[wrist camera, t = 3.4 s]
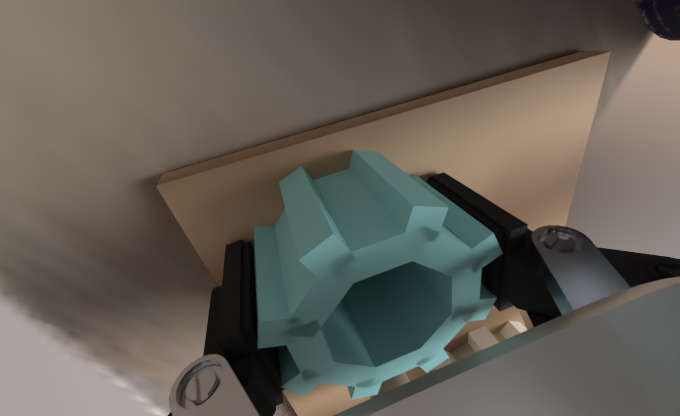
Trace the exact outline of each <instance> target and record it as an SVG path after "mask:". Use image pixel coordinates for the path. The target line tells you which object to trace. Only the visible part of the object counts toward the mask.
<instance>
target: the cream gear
mask: <svg viewBox="0 0 680 416" xmlns="http://www.w3.org/2000/svg"><path fill="white" fill-rule="evenodd" d="M525 331H527V329H526V328H525V327H524V326H523V325H522V324H521V323H520V322H515V321H508V322H507V324H506V325H505V326H504V327H503V329H502V330H501V331H500V332H495V333H491V332H490V331H489V330H488V329H487V328H486V327H485V326H483V327H481V328H478V329H476V330H474V331H471V332H469V333H468V342H467V343H465V344H464V345H462V346H460V347H459V348H457V349H456V350H454V351H453V352H452V353H450V352H447V351H445V352H446V353H447V355H448V356H449V358H448V359H446V360H445V361H443V362H442V363H441V364H439V365H438V366H436V367H435V368H433V371H435V370H437V369H440V368H442V367H444V366H446V365H449V364H451V363H453V362H456V361H458V360H460V359H462V358H465V357H467V356H469V355H472V354H474V353H476V352H478V351H481V350H483V349H485V348H488V347H490V346H492V345H494V344H497V343H499V342H501V341H504V340H506V339H508V338H511V337H513V336H515V335H518V334H520V333H522V332H525ZM433 371H432V372H433Z"/></svg>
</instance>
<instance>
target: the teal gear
mask: <svg viewBox="0 0 680 416" xmlns="http://www.w3.org/2000/svg"><path fill="white" fill-rule="evenodd" d="M279 185H280V189H281V193H282V197H283V201H284V205H285V210H284V211H283V213H282V215H281V216H280V218H279V220H278V222H277V223H276V225H275V227H254V244H253V251H254V273H255V295H256V317H257V340H258V344H257V345H258V349H260V348H268V347H276V346H277V347H278V356H279V365H280V374H281V387H282V388H285V389H287V390H289V391H291V392H293V393H295V394H297V395H299V396H301V397H302V396H304V395H305V394H306V393H308V392H309V391H311V390H312V389H313V388H315V387H316V386H318V385H319V384H331V385H342V386H347V387H348V391H349V394H350V397H351V400H353V399H358V398H363V397H368V396H373V395H377V394H378V392H379V389H380V387H381V384H382V382H383V381H385V380H387V379H390V378H392V377H394V376H397V375H399V374H401V373H404V372H406V371H408V370H411V369H413V368H415V367H418V366H420V367H421V368H422V369H423V370H424V371H425V372H427V373H428V372H429V371H430V370H432V369H433V368H435V367H436V366H438V365H439V364H441V363H442V362H443V361H445V360H446V359H448V358H449V356H448V355H447V353H446V352H445V350H444V349H443V348H444V347H445V346H446V345H447V344H448V343H449V342H450V341H451V340H452V338H453V337H454V336H455V335H456V334H457V333H458V332H459V331H460V330H461V329H462V328H463V327H464V325H465V324H466V323H467V322H470V321H477V320H485V319H486V317H487V315H488V313H489V311H490V310H491V308H492V306H493V304H494V302H495V300H496V299H497V297H496V296H495V295H493V294H492V293H491V292H490V291H489V290H488V289H487V288H486V287H485V286H484V285H483V284H482V283H481V273H482V268H483V267H484V266H486V265H487V264H488V263H490V262H491V261H493V260H494V259H495V258H497V257H498V256H500V255H501V254H502V251H501V248H500V246H499V244H498V241H497V239H496V237H495V235H494V233H493V232H492V231H490V230H489V229H488V228H486V227H485V226H484V225H482V224H481V223H480V222H478V221H477V220H476V219H474V218H473V217H472V216H470V215H469V214H468V213H466V212H465V211H464V210H462V209H461V208H460V207H458V206H457V205H455V204H454V203H453V202H451V201H450V200H449V199H447V198H446V197H445V196H443V195H442V194H441V193H439V192H438V191H437V190H435V189H434V188H433V187H431V186H430V185H429V184H427V183H426V182H425V181H423V180H422V179H421V178H419V177H418V176H417V175H415V174H413V175H412V176H411V177H410V176H408V175H407V174H406V173H405V172H403V171H402V170H401V169H399V168H398V167H397V166H396V165H394V164H393V163H392V162H390V161H389V160H388V159H387V158H385V157H384V156H383V155H381V154H380V153H379V152H375V151H365V150H355V149H353V152H352V157H351V162H350V167H349V169H346V170H343V171H340V172H337V173H334V174H330V175H327V176H324V177H321V178H318V179H315V180H313V179H312V178H311V177H310V175H309V174H308V173H307V172H306V171H305V170H304V168H303V167H302V166H299V167H298V168H297V169H296V170H294V171H293V172H292V173H291V174H289V175H288V176H287V177H286V178H284V179H283V180H282V181H280V182H279Z"/></svg>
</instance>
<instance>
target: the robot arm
mask: <svg viewBox="0 0 680 416" xmlns="http://www.w3.org/2000/svg"><path fill="white" fill-rule="evenodd" d="M426 183H427V184H429V185H430V186H431V187H433V188H434V189H435V190H437V191H438V192H439V193H441V194H442V195H443V196H445V197H446V198H447V199H449V200H450V201H451V202H453V203H454V204H455V205H457V206H458V207H460V208H461V209H462V210H464V211H465V212H466V213H468V214H469V215H470V216H472V217H473V218H474V219H476V220H477V221H478V222H480V223H481V224H482V225H484V226H485V227H486V228H488V229H489V230H490V231H492V232H493V233H494V235H495V237H496V239H497V241H498V244H499V246H500V248H501V251H502V254H501V255H500V256H498V257H497V258H495V259H494V260H493V261H491V262H490V263H488V264H487V265H486V266H484V267H483V268H482V273H481V283H482V284H483V285H484V286H485V287H486V288H487V289H488V290H489V291H490V292H491V293H492V294H493V295H495V296H496V297H497V299H496V300H495V302H494V304H493V305H494V306H495V307H496V308H497V309H498V310H499V311H503V310H505V309H507V308H510V307H512V306H515V307H516V308H517V309H519V311H520V314H521V316H522V319H523V321H524V323H525V326H526V328H527V331H525V332H522V333H520V334H518V335H515V336H513V337H511V338H508V339H506V340H504V341H501V342H499V343H497V344H494V345H492V346H490V347H488V348H485V349H483V350H481V351H478V352H476V353H474V354H472V355H469V356H467V357H465V358H462V359H460V360H458V361H456V362H453V363H451V364H449V365H446V366H444V367H442V368H440V369H437V370H435V371H433V372H430V373H428V374H426V375H424V376H421V377H419V378H417V379H414V380H412V381H410V382H408V383H405V384H403V385H401V386H399V387H396V388H394V389H392V390H390V391H387V392H385V393H383V394H381V395H378V396H376V397H374V398H372V399H369V400H367V401H365V402H363V403H360V404H358V405H356V406H354V407H351V408H349V409H347V410H345V411H342V412H340V413H338V414H336V415H333V416H680V259H675V258H671V257H665V256H657V255H650V254H642V253H635V252H628V251H620V250H612V249H605V248H597V247H596V246H595V245H594V244H593V242H592V241H591V240H590V239H589V238H588V237H587V236H586V235H584V234H583V233H581V232H579V231H577V230H575V229H572V228H569V227H564V226H559V225H548V226H542V227H540V228H537V229H536V230H535V231H531V230H530V229H528V228H527V227H528V224H526V223H525V222H523V221H521V220H520V219H518V218H517V217H515V216H513V215H512V214H510V213H509V212H507V211H505V210H504V209H502V208H501V207H499V206H497V205H496V204H494V203H493V202H491V201H489V200H488V199H486V198H485V197H483V196H481V195H480V194H478V193H477V192H475V191H473V190H472V189H470V188H469V187H467V186H465V185H464V184H462V183H460V182H459V181H457V180H456V179H454V178H452V177H451V176H449V175H448V174H446V173H444V172H443V173H439V174H436V175H433V176H430V177H429V178H428V181H427V182H426ZM257 344H258V340H257V317H256V295H255V273H254V251H253V247H252V245H251V243H250V242H246V243H244V241H243V240H239V241H236V242H233V243H230V244H227V245H226V247H225V258H224V268H223V279H222V285H221V286H218V287H216V288H214V289H213V290H212V295H211V302H210V310H209V317H208V325H207V332H206V340H205V347H204V355H203V357H200V358H198V359H197V360H195V361H194V362H192V363H191V364H190V365H188V366H187V367H186V368H185V369H184V370H183V371H182V372H181V374H180V375H179V376H178V378H177V379H176V380H175V382H174V384H173V386H172V388H171V392H170V396H169V405H170V409H171V413H170V414H169V415H168V416H273V415H274V413H275V411H276V406H277V405H279V404H282V403H283V395H282V391H283V390H286V389H285V388H282V387H281V374H280V365H279V356H278V347H277V346H276V347H268V348H260V349H258V345H257Z"/></svg>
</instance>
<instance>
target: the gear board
mask: <svg viewBox="0 0 680 416" xmlns="http://www.w3.org/2000/svg"><path fill="white" fill-rule="evenodd" d="M610 54H611V51H581V52H578V53H574V54H571V55H567V56H564V57H560V58H557V59H554V60H550V61H547V62H543V63H540V64H536V65H533V66H530V67H526V68H523V69H519V70H516V71H512V72H509V73H506V74H502V75H499V76H495V77H492V78H488V79H485V80H482V81H478V82H475V83H471V84H468V85H464V86H461V87H458V88H454V89H451V90H447V91H444V92H440V93H437V94H434V95H430V96H427V97H423V98H420V99H416V100H413V101H410V102H406V103H403V104H399V105H396V106H392V107H389V108H386V109H382V110H379V111H375V112H372V113H368V114H365V115H362V116H358V117H355V118H351V119H348V120H344V121H341V122H338V123H334V124H331V125H327V126H324V127H320V128H317V129H314V130H310V131H307V132H303V133H300V134H296V135H293V136H290V137H286V138H283V139H279V140H276V141H272V142H269V143H266V144H262V145H259V146H255V147H252V148H248V149H245V150H242V151H238V152H235V153H231V154H228V155H224V156H221V157H218V158H214V159H211V160H207V161H204V162H200V163H197V164H194V165H190V166H187V167H183V168H180V169H176V170H173V171H170V172H166V173H164V174H163V175H162V177H161V178H160V180H159V181H158V183H157V185H156V188H157V189H158V191H159V192H160V194H161V196H162V197H163V199H164V201H165V202H166V204H167V205H168V207H169V209H170V210H171V212H172V213H173V215H174V217H175V218H176V220H177V222H178V223H179V225H180V226H181V228H182V230H183V231H184V233H185V234H186V236H187V238H188V239H189V241H190V243H191V244H192V246H193V247H194V249H195V251H196V252H197V254H198V255H199V257H200V259H201V260H202V262H203V264H204V265H205V267H206V268H207V270H208V272H209V273H210V275H211V276H212V278H213V280H214V281H215V283H216V285H217V286H221V285H222V279H223V268H224V258H225V247H226V245H227V244H230V243H233V242H236V241H239V240H243V241H244V243H246V242H250V243H251V245H252V247H253V244H254V227H275V225H276V223H277V222H278V220H279V218H280V216H281V215H282V213H283V211H284V210H285V205H284V201H283V197H282V193H281V189H280V185H279V182H280V181H282V180H283V179H284V178H286V177H287V176H288V175H289V174H291V173H292V172H293V171H294V170H296V169H297V168H298V167H299V166H302V167H303V168H304V170H305V171H306V172H307V173H308V174H309V175H310V177H311V178H312V179H313V180H315V179H318V178H321V177H324V176H327V175H330V174H334V173H337V172H340V171H343V170H346V169H349V167H350V162H351V157H352V152H353V149H355V150H365V151H375V152H379V153H380V154H381V155H383V156H384V157H385V158H387V159H388V160H389V161H390V162H392V163H393V164H394V165H396V166H397V167H398V168H399V169H401V170H402V171H403V172H405V173H406V174H407V175H408V176H410V177H411V176H412V175H413V174H415V175H417V176H418V177H419V178H421V179H422V180H423V181H425V182H427V181H428V178H429V177H430V176H433V175H436V174H439V173H443V172H444V173H446V174H448V175H449V176H451V177H452V178H454V179H456V180H457V181H459V182H460V183H462V184H464V185H465V186H467V187H469V188H470V189H472V190H473V191H475V192H477V193H478V194H480V195H481V196H483V197H485V198H486V199H488V200H489V201H491V202H493V203H494V204H496V205H497V206H499V207H501V208H502V209H504V210H505V211H507V212H509V213H510V214H512V215H513V216H515V217H517V218H518V219H520V220H521V221H523V222H525V223H526V224H528V227H527V228H528V229H530V230H531V231H535V230H536V229H537V228H540V227H542V226H548V225H559V226H564V227H565V225H566V221H567V217H568V214H569V210H570V206H571V202H572V198H573V195H574V191H575V187H576V183H577V179H578V176H579V172H580V168H581V164H582V160H583V157H584V153H585V149H586V145H587V142H588V138H589V134H590V130H591V126H592V123H593V119H594V115H595V111H596V107H597V104H598V100H599V96H600V92H601V88H602V85H603V81H604V77H605V73H606V70H607V66H608V62H609V58H610ZM508 321H515V322H520V323H521V324H522V325H523V326H524V327H525V328H526V326H525V323H524V321H523V319H522V316H521V314H520V311H519V309H517V308H516V307H515V306H512V307H510V308H507V309H505V310H503V311H499V310H498V309H497V308H496V307H495V306H494V305H493V306H492V308H491V310H490V311H489V313H488V315H487V317H486V319H485V320H477V321H470V322H467V323H466V324H465V325H464V327H463V328H462V329H461V330H460V331H459V332H458V333H457V334H456V335H455V336H454V337H453V338H452V340H451V341H450V342H449V343H448V344H447V345H446V346H445V347H444V348H443V349H444V350H445V351H447V352H450V353H452V352H453V351H454V350H456V349H457V348H459V347H460V346H462V345H464V344H465V343H467V342H468V333H469V332H471V331H474V330H476V329H478V328H481V327H483V326H485V327H486V328H487V329H488V330H489V331H490V332H491V333H495V332H500V331H501V330H502V329H503V327H504V326H505V325H506V324H507V322H508ZM526 329H527V328H526ZM432 371H433V369H432V370H430V371H429V372H428V373H430V372H432ZM428 373H427V372H425V371H424V370H423V369H422V368H421V367H420V366H418V367H415V368H413V369H411V370H408V371H406V372H404V373H401V374H399V375H397V376H394V377H392V378H390V379H387V380H385V381H383V382H382V384H381V387H380V389H379V392H378V394H377V395H373V396H368V397H363V398H358V399H353V400H351V397H350V394H349V391H348V387H347V386H342V385H331V384H319V385H318V386H316V387H315V388H313V389H312V390H311V391H309V392H308V393H306V394H305V395H304V396H302V397H301V396H299V395H297V394H295V393H293V392H291V391H289V390H287V389H286V390H283V393H284V394H285V396H286V398H287V399H288V401H289V402H290V404H291V406H292V407H293V409H294V411H295V412H296V414H297V415H298V416H333V415H336V414H338V413H340V412H342V411H345V410H347V409H349V408H351V407H354V406H356V405H358V404H360V403H363V402H365V401H367V400H369V399H372V398H374V397H376V396H378V395H381V394H383V393H385V392H387V391H390V390H392V389H394V388H396V387H399V386H401V385H403V384H405V383H408V382H410V381H412V380H414V379H417V378H419V377H421V376H424V375H426V374H428Z"/></svg>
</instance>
